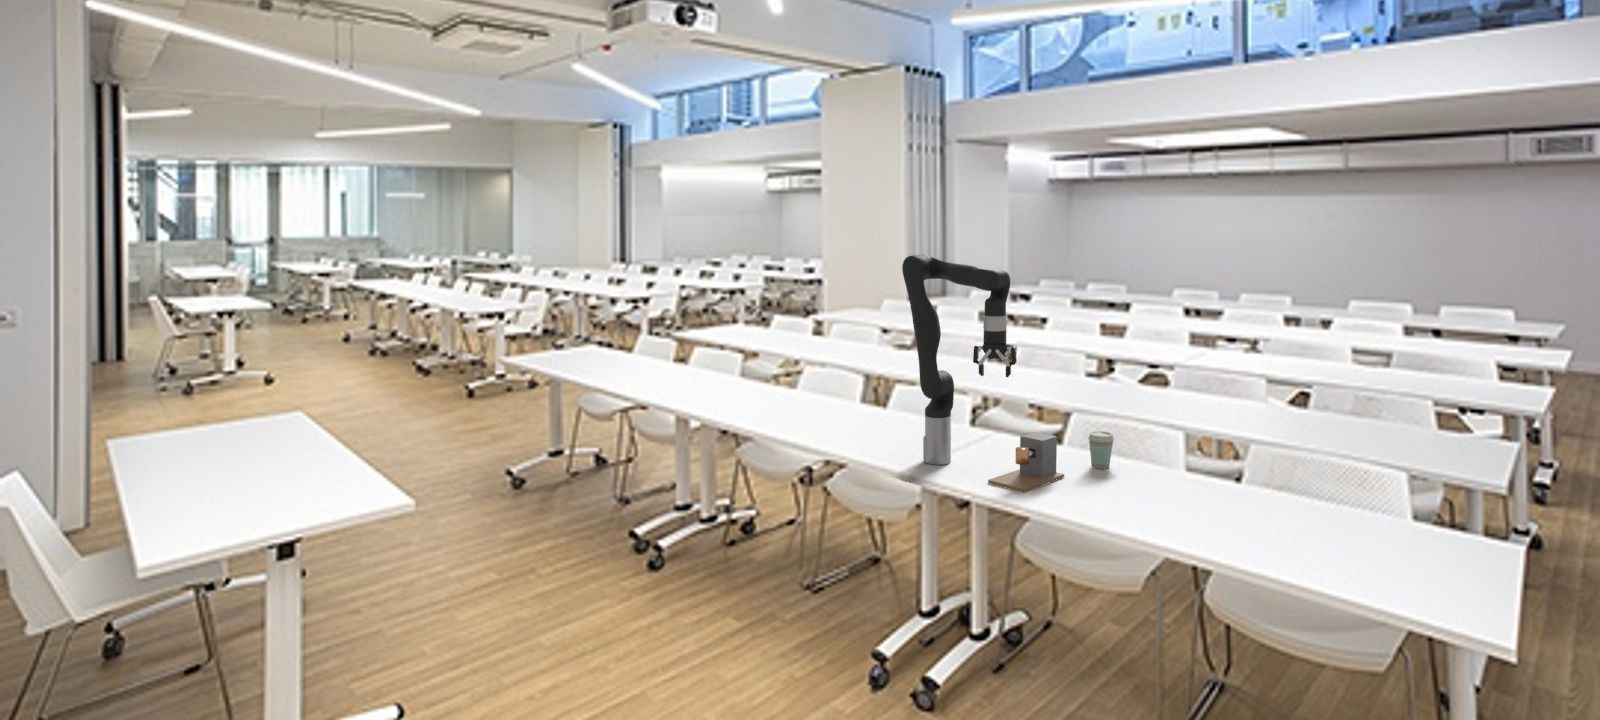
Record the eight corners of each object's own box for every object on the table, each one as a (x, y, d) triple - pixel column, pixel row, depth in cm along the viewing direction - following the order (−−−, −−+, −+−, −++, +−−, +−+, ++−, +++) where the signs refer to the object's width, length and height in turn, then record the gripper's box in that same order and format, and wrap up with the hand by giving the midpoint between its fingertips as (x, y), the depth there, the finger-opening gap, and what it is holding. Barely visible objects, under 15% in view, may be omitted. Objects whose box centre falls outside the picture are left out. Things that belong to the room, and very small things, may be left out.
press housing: (1023, 492, 291) (1023, 450, 289) (988, 483, 301) (988, 442, 299) (1064, 477, 306) (1065, 437, 303) (1029, 469, 316) (1029, 430, 314)
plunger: (1023, 465, 298) (1024, 450, 297) (1012, 463, 301) (1012, 448, 300) (1048, 457, 307) (1048, 443, 306) (1037, 455, 310) (1037, 441, 309)
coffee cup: (1114, 471, 312) (1115, 437, 310) (1088, 470, 313) (1089, 436, 311) (1111, 464, 320) (1112, 431, 318) (1086, 463, 322) (1087, 430, 320)
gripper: (1018, 328, 305) (1017, 375, 307) (976, 326, 310) (976, 373, 313) (1014, 330, 298) (1013, 379, 300) (971, 329, 304) (971, 377, 306)
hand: (994, 376), depth 307 cm, fingers open, 8 cm apart
